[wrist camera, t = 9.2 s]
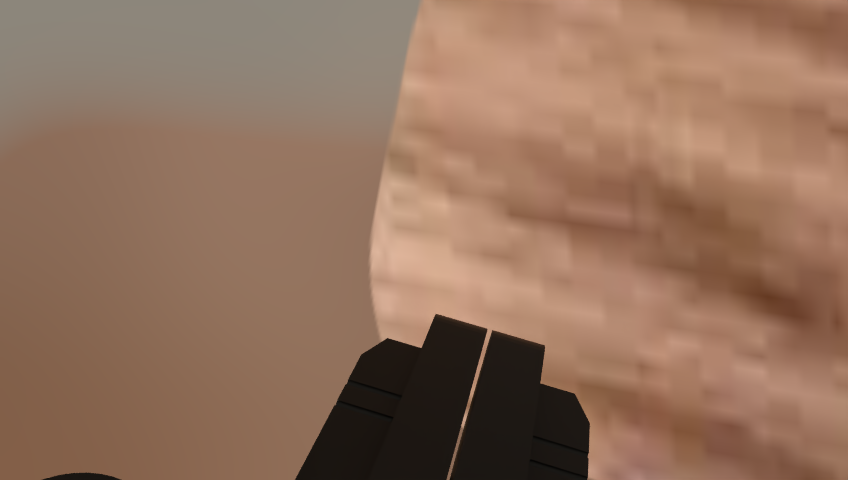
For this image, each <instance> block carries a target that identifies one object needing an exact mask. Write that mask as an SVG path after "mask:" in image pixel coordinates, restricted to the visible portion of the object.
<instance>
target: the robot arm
mask: <svg viewBox="0 0 848 480" xmlns="http://www.w3.org/2000/svg"><path fill="white" fill-rule="evenodd" d="M486 333H487V329H486V328H483V327H479V326H476V325H472V324H469V323H466V322H462V321H459V320H455V319H452V318H448V317H445V316H442V315H438V314H436V315H435V317H434V319H433V322H432V324H431V326H430V329H429V331H428V334H427V336H426V339H425V341H424V344H423V346H422V348H419V347H415V346H412V345H409V344H405V343H402V342H399V341H395V340H392V339H389V338H387V339H385V340H384V341H382V342H381V343H379V344H378V345H376V346H374V347H373V348H371V349H370V350H368V351H366V352H365V353H363V354H362V355H361V356H360V358H359V360H358V362H357V364H356V366H355V368H354V370H353V372H352V374H351V375H350V377H349V379H348V383H347V384H346V385H345V387H344V389H343V390H342V392H341V394H340V396H339V398H338V400H337V403H336V405H335V406H334V407H333V409H332V411H331V413H330V415H329V417H328V419H327V421H326V423H325V424H324V426H323V428H322V430H321V432H320V434H319V436H318V438H317V439H316V441H315V443H314V445H313V447H312V449H311V451H310V453H309V455H308V456H307V458H306V460H305V462H304V464H303V466H302V468H301V470H300V471H299V474H298V475H297V477H296V479H295V480H446V479H447V475H448V472H449V468H450V465H451V461H452V457H453V454H454V450H455V446H456V443H457V439H458V435H459V431H460V428H461V424H462V421H463V417H464V413H465V410H466V406H467V402H468V399H469V395H470V391H471V388H472V384H473V381H474V377H475V373H476V370H477V366H478V362H479V359H480V355H481V351H482V348H483V344H484V340H485V337H486ZM544 352H545V345H541V344H538V343H535V342H531V341H528V340H524V339H521V338H517V337H514V336H511V335H507V334H504V333H500V332H497V331H494V330H492V333H491V336H490V340H489V343H488V346H487V350H486V353H485V357H484V360H483V364H482V367H481V371H480V374H479V377H478V381H477V384H476V388H475V391H474V395H473V398H472V402H471V405H470V409H469V412H468V416H467V419H466V422H465V426H464V429H463V433H462V437H461V440H460V444H459V447H458V451H457V455H456V458H455V462H454V466H453V469H452V473H451V477H450V480H587V478H588V459H589V458H587V457H588V453H589V429H590V423H589V421H588V419H587V417H586V415H585V413H584V411H583V409H582V407H581V405H580V403H579V401H578V399H577V397H576V395H575V394H574V393H570V392H567V391H564V390H560V389H557V388H554V387H550V386H547V385H544V384H540V381H541V373H542V366H543V359H544ZM43 480H120V479H117V478H115V477H112V476H107V475H103V474H96V473H95V474H94V473H71V474H64V475H58V476H54V477H51V478H46V479H43Z"/></svg>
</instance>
